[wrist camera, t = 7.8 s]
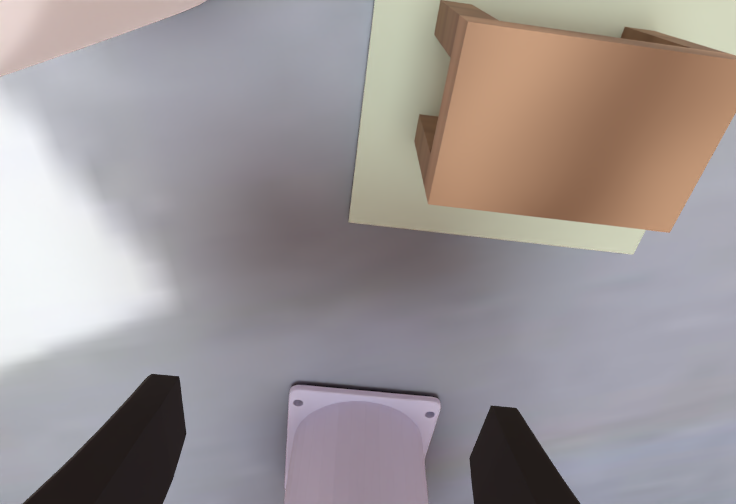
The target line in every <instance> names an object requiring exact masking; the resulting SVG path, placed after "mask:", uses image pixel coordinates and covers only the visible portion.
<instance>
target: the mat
mask: <svg viewBox="0 0 736 504" xmlns="http://www.w3.org/2000/svg"><path fill="white" fill-rule="evenodd" d="M445 1H451V2H458V3H465V4H472V5H474V6H475V7H477V8H479V9H480V10H482V11H484V12H486V13H487V14H489V15H491V16H492V17H494V18H496V19H497V20H499V21H505V22H512V23H519V24H526V25H533V26H540V27H547V28H554V29H561V30H568V31H575V32H582V33H588V34H595V35H602V36H609V37H616V38H621V35H622V33H623V30H624V28H625V27H631V28H638V29H645V30H652V31H657V32H660V33H663V34H666V35H670V36H673V37H676V38H680V39H683V40H686V41H689V42H693V43H696V44H699V45H703V46H706V47H709V48H713V49H716V50H719V51H722V52H726V53H729V54H732V55H736V0H445ZM439 6H440V0H375V2H374V11H373V19H372V28H371V36H370V44H369V53H368V61H367V70H366V78H365V86H364V95H363V103H362V112H361V120H360V129H359V137H358V145H357V154H356V162H355V171H354V179H353V187H352V196H351V204H350V213H349V223H358V224H367V225H376V226H385V227H393V228H402V229H411V230H420V231H429V232H438V233H447V234H455V235H464V236H473V237H482V238H491V239H500V240H508V241H517V242H526V243H535V244H544V245H553V246H562V247H570V248H579V249H588V250H597V251H606V252H615V253H624V254H632V255H633V254H634V252H635V250H636V248H637V246H638V244H639V242H640V240H641V238H642V236H643V234H644V232H645V231H646V230H643V229H635V228H626V227H617V226H609V225H600V224H592V223H583V222H575V221H566V220H558V219H549V218H540V217H532V216H523V215H515V214H506V213H498V212H489V211H481V210H472V209H463V208H455V207H446V206H438V205H429V204H428V202H427V197H426V193H425V188H424V184H423V179H422V174H421V170H420V165H419V161H418V156H417V152H416V147H415V142H414V140H415V135H416V129H417V124H418V119H419V114H422V115H430V116H439V111H440V107H441V102H442V97H443V92H444V87H445V83H446V78H447V73H448V68H449V63H450V59H451V58H450V57H449V55H448V54H447V52H446V51H445V49H444V48H443V47H442V45H441V44H440V42H439V41H438V39H437V38H436V37H435V35H434V33H435V27H436V22H437V16H438V11H439Z"/></svg>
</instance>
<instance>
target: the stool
mask: <svg viewBox="0 0 736 504" xmlns="http://www.w3.org/2000/svg"><path fill="white" fill-rule="evenodd" d="M434 35H435V37H436V38H437V39H438V41H439V42H440V44H441V45H442V47H443V48H444V49H445V51H446V52H447V54H448V55H449V57H450V58H451V59H450V63H449V68H448V73H447V78H446V83H445V87H444V92H443V97H442V102H441V107H440V111H439V116H430V115H422V114H419V119H418V124H417V129H416V135H415V140H414V142H415V147H416V152H417V156H418V161H419V165H420V170H421V174H422V179H423V184H424V188H425V193H426V197H427V202H428V204H429V205H438V206H446V207H455V208H463V209H472V210H481V211H489V212H498V213H506V214H515V215H523V216H532V217H540V218H549V219H558V220H566V221H575V222H583V223H592V224H600V225H609V226H617V227H626V228H635V229H643V230H652V231H660V232H669V233H670V231H671V229H672V227H673V226H674V224H675V222H676V220H677V218H678V217H679V215H680V213H681V211H682V209H683V207H684V206H685V204H686V202H687V200H688V198H689V197H690V195H691V193H692V191H693V189H694V187H695V186H696V184H697V182H698V180H699V178H700V177H701V175H702V173H703V171H704V169H705V167H706V166H707V164H708V162H709V160H710V158H711V156H712V155H713V153H714V151H715V149H716V147H717V146H718V144H719V142H720V140H721V138H722V136H723V135H724V133H725V131H726V129H727V127H728V126H729V124H730V122H731V120H732V118H733V116H734V115H735V113H736V55H732V54H729V53H726V52H722V51H719V50H716V49H713V48H709V47H706V46H703V45H699V44H696V43H693V42H689V41H686V40H683V39H680V38H676V37H673V36H670V35H666V34H663V33H660V32H657V31H652V30H645V29H638V28H631V27H625V28H624V30H623V33H622V35H621V38H616V37H609V36H602V35H595V34H588V33H582V32H575V31H568V30H561V29H554V28H547V27H540V26H533V25H526V24H519V23H512V22H505V21H499V20H497V19H496V18H494V17H492V16H491V15H489V14H487V13H486V12H484V11H482V10H480V9H479V8H477V7H475V6H474V5H472V4H465V3H458V2H451V1H445V0H440V6H439V11H438V16H437V22H436V27H435V33H434Z"/></svg>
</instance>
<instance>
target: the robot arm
mask: <svg viewBox="0 0 736 504" xmlns="http://www.w3.org/2000/svg"><path fill="white" fill-rule="evenodd" d="M440 410H441V404H440V400H439V399H437V398H435V397H429V396H418V395H407V394H396V393H385V392H374V391H363V390H352V389H341V388H330V387H319V386H308V385H295V386H293V387H291V389H290V393H289V406H288V425H287V444H286V462H285V481H284V489H285V490H286V491H285V498H284V504H429V502H428V492H427V482H426V472H425V463H424V460H425V457H426V454H427V450H428V447H429V444H430V441H431V438H432V435H433V432H434V428H435V425H436V422H437V419H438V416H439V413H440ZM430 411H431V412H430ZM185 436H186V428H185V419H184V411H183V403H182V395H181V387H180V379H179V376H168V375H158V374H151V375H149V376H148V377H147V378H146V379H145V380H144V381H143V382H142V383H141V385H140V386H139V387H138V388H137V389H136V390H135V391H134V392H133V394H132V395H131V396H130V397H129V398H128V399H127V400H126V401H125V402H124V403H123V405H122V406H121V407H120V408H119V409H118V410H117V411H116V412H115V413H114V414H113V415H112V416H111V417H110V419H109V420H108V421H107V422H106V423H105V424H104V425H103V426H102V427H101V428H100V429H99V430H98V431H97V432H96V433H95V434H94V435H93V436H92V437H91V438H90V439H89V440H88V441H87V442H86V443H85V444H84V445H83V446H82V447H81V448H80V449H79V450H78V451H77V452H76V453H75V454H74V456H73V457H72V458H71V459H69V460H68V461H67V462H66V463H65V464H64V465H63V466H62V467H61V468H60V469H59V470H58V471H57V472H56V473H55V474H54V475H53V476H52V477H51V478H50V479H48V480H47V481H46V482H45V483H44V484H43V485H42V486H41V487H40V488H39V489H38V490H37V491H36V492H35V493H33V494H32V495H31V496H30V497H29V498H28V499H27V500H26V501H25V502H24V503H23V504H163V502H164V499H165V497H166V495H167V492H168V490H169V487H170V485H171V482H172V480H173V477H174V473H175V470H176V467H177V464H178V460H179V457H180V454H181V450H182V447H183V443H184V440H185ZM470 468H471V479H472V489H473V498H474V504H580V503H579V501H578V500H577V498H576V497H575V495H574V494H573V493H572V491H571V490H570V488H569V487H568V485H567V484H566V483H565V481H564V480H563V478H562V477H561V475H560V474H559V472H558V471H557V469H556V468H555V466H554V465H553V463H552V462H551V460H550V459H549V457H548V456H547V454H546V453H545V451H544V450H543V448H542V447H541V445H540V443H539V442H538V440H537V439H536V437H535V436H534V434H533V433H532V431H531V429H530V428H529V426H528V425H527V423H526V422H525V420H524V418H523V417H522V415H521V414H520V412H519V411H518V410H517V408H510V407H500V406H491V407H490V410H489V412H488V414H487V417H486V419H485V422H484V424H483V427H482V429H481V431H480V434H479V436H478V439H477V441H476V444H475V446H474V448H473V451H472V453H471V456H470Z"/></svg>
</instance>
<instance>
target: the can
mask: <svg viewBox="0 0 736 504" xmlns="http://www.w3.org/2000/svg"><path fill="white" fill-rule="evenodd" d="M205 1H206V0H0V76H3V75H6V74H9V73H12V72H15V71H18V70H21V69H24V68H27V67H30V66H33V65H36V64H39V63H42V62H44V61H47V60H50V59H53V58H56V57H59V56H62V55H64V54H67V53H70V52H73V51H76V50H79V49H82V48H84V47H87V46H90V45H93V44H96V43H99V42H101V41H104V40H107V39H110V38H113V37H115V36H118V35H121V34H124V33H127V32H129V31H132V30H135V29H138V28H140V27H143V26H146V25H149V24H151V23H154V22H157V21H160V20H162V19H165V18H168V17H171V16H173V15H176V14H178V13H181V12H184V11H186V10H189V9H191V8H193V7H195V6H198V5H200V4H201V3H203V2H205Z"/></svg>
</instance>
